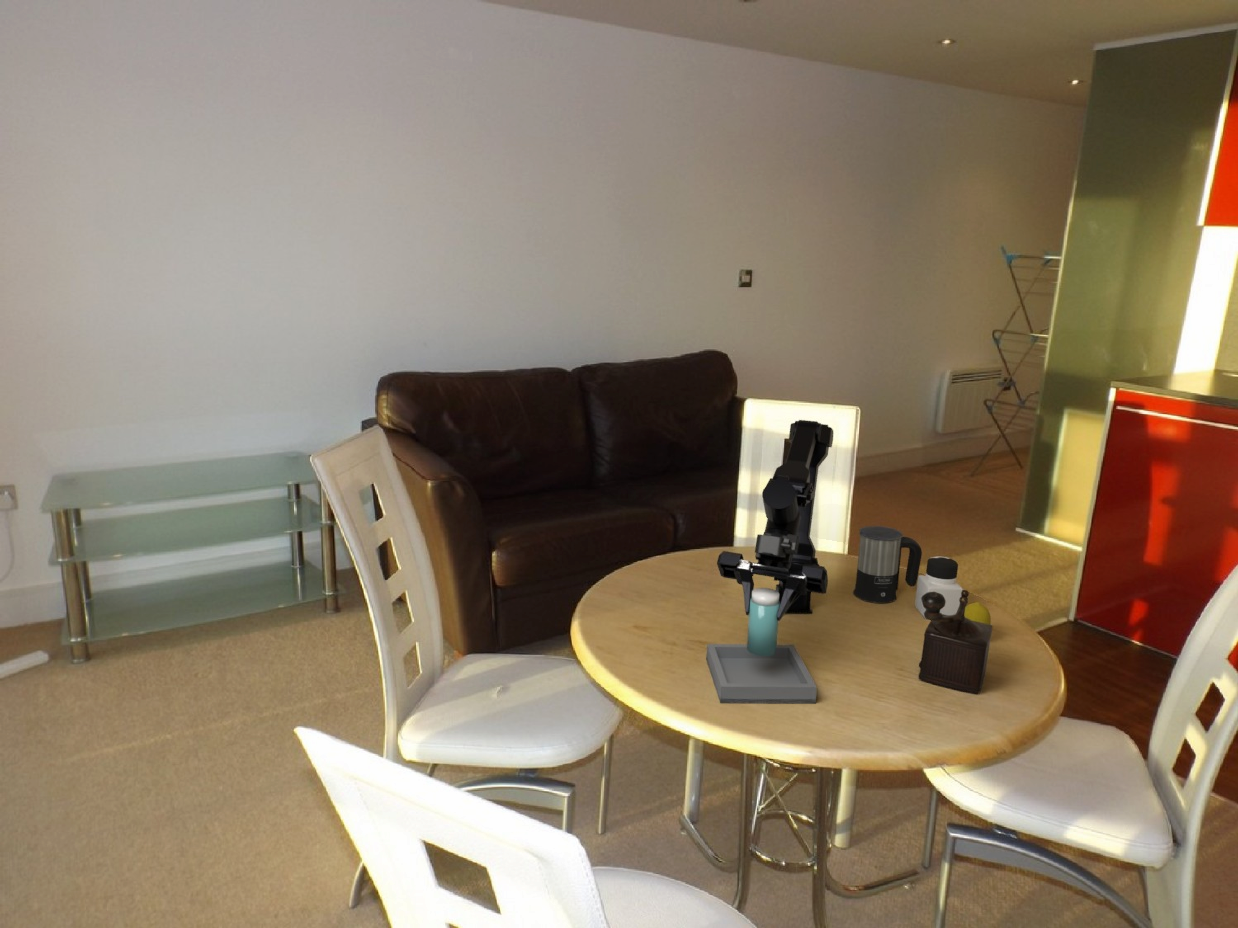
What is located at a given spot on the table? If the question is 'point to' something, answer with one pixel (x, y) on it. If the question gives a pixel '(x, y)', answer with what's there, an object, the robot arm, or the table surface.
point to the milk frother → (884, 563)
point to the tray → (760, 675)
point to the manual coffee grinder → (953, 647)
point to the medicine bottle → (940, 584)
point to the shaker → (763, 622)
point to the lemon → (977, 613)
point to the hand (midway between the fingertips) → (762, 616)
